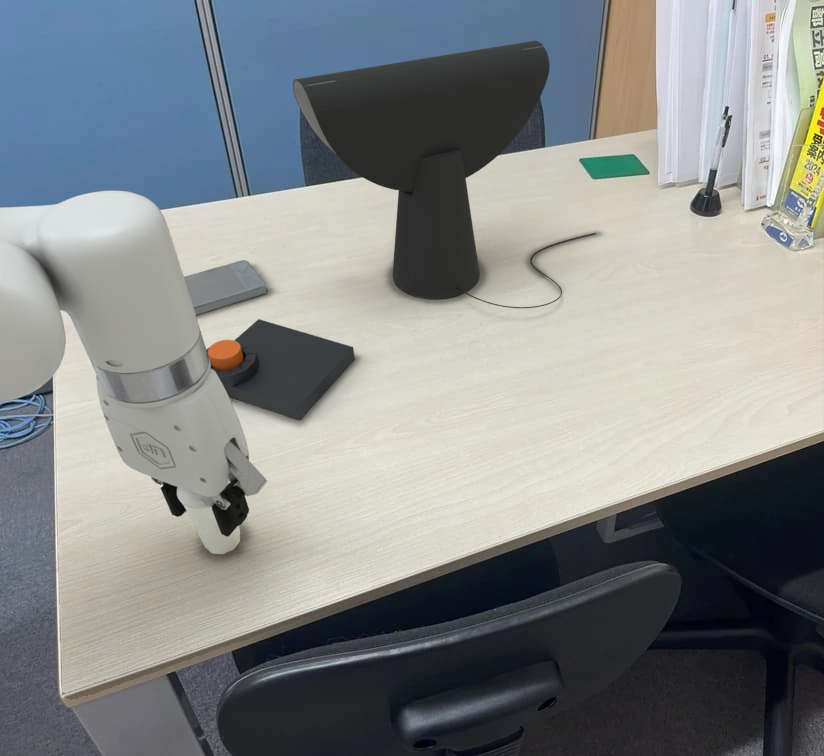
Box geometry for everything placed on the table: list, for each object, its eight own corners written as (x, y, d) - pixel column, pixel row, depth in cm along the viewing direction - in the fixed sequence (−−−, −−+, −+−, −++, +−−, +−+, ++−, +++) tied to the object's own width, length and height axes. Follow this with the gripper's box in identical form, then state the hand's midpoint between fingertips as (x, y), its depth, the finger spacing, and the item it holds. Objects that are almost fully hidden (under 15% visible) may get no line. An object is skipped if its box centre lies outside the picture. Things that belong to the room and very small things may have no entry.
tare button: (204, 365, 82) (200, 353, 81) (225, 347, 85) (221, 336, 83) (230, 374, 81) (226, 362, 80) (250, 355, 84) (247, 344, 82)
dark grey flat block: (192, 390, 83) (185, 367, 81) (259, 330, 92) (254, 308, 90) (295, 424, 80) (290, 402, 77) (355, 358, 89) (352, 336, 86)
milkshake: (196, 572, 65) (168, 504, 58) (198, 525, 69) (172, 456, 62) (248, 563, 66) (227, 495, 59) (247, 517, 70) (227, 448, 63)
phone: (269, 293, 99) (267, 285, 98) (149, 330, 92) (146, 322, 91) (248, 266, 104) (246, 258, 103) (133, 299, 97) (130, 291, 96)
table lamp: (476, 194, 123) (477, 4, 103) (622, 242, 112) (655, 40, 93) (312, 303, 97) (272, 77, 78) (482, 379, 86) (486, 140, 67)
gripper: (23, 359, 52) (107, 515, 64) (212, 425, 48) (264, 579, 60) (102, 305, 57) (166, 458, 69) (279, 360, 53) (314, 513, 65)
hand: (211, 512), depth 64 cm, fingers closed on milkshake, 4 cm apart
